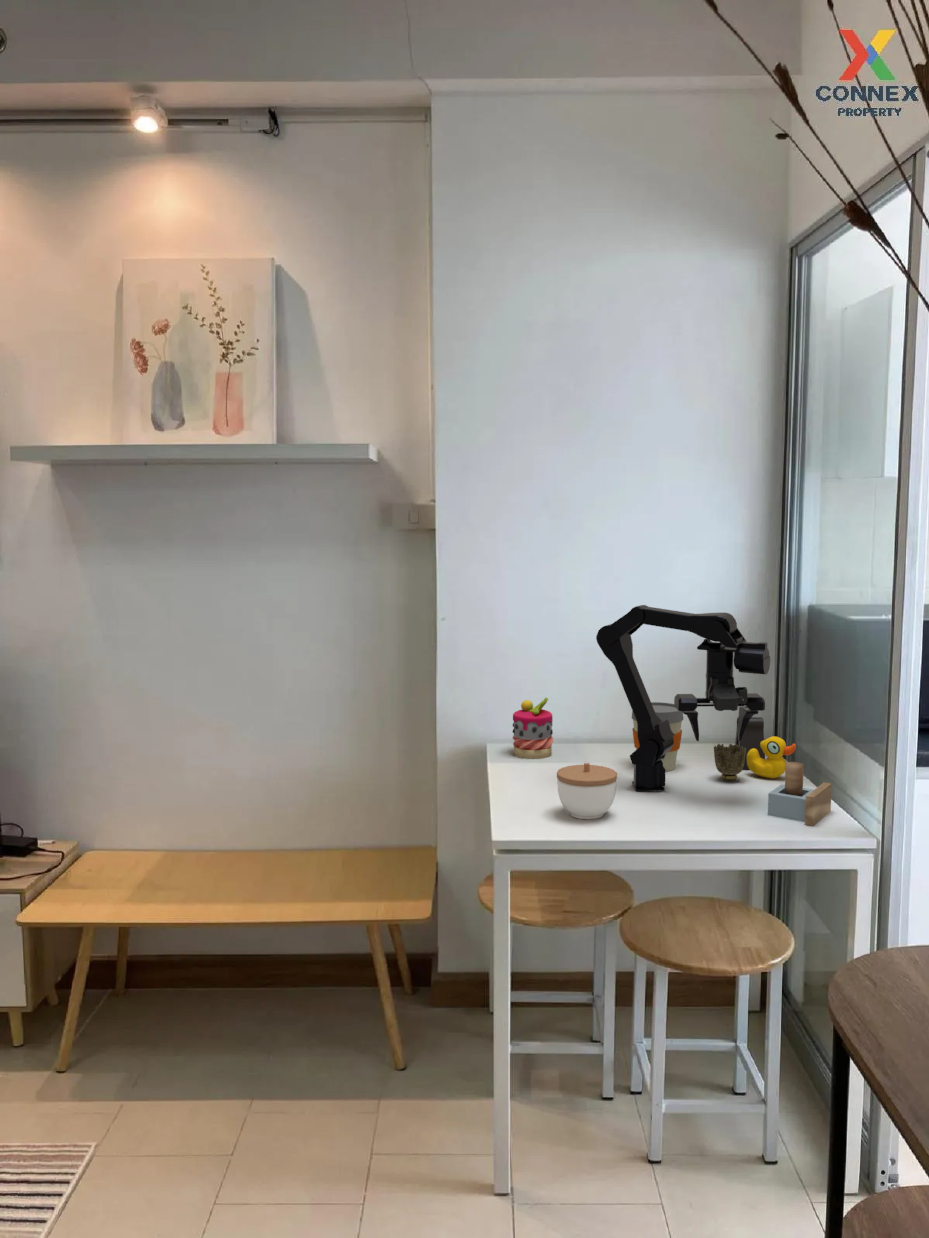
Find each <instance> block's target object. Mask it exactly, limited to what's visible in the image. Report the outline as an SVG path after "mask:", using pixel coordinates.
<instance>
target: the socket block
mask: <svg viewBox="0 0 929 1238" xmlns="http://www.w3.org/2000/svg"><path fill="white" fill-rule="evenodd" d="M813 790H815V788H814V789H812V788H806V787H803V796H802V797H800V796H794V795H788V794H785V784H783V783H781V784H780V785H778V786H777V787H776V788H774V789H772V790H771V791H769V792H768V793H767V795H768V796H767V798H768V799H767V801H768V802H767V816H771V817H776V818H780V819H781V818H782V819H788V820H792V821H797V822H798V821H799V822H804V823H805V805H806V796H807V795H808V794H809V793H811V792H812V791H813Z"/></svg>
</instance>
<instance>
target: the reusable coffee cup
mask: <svg viewBox="0 0 929 1238" xmlns="http://www.w3.org/2000/svg"><path fill="white" fill-rule="evenodd" d="M651 704H652V706H653V708H654V711H655V713H656V715H657V716H658V717H659V718H660V720H661V721H662V722H663V721H665V720H666V719H667V720H668V721H669V724H670V728H671V730H672V732H673V733H674V734H675V736H673V740H674V744H673V747H672V749H671V750H670V751H669V752H667V753H666V755H665V758H664V759H661V760H662V762H663V767H664V768H665V772H670V771H674V770H675V769H676V765H677V764H676V762H677V757H678V751H679V750H680V748H681V742H682V735H683V730H682V725H683V724H682V722H683V721H684V713H683V712H682V711H678V710H677V708H676V707H675V706H674V703H672V702H671V703H670V702H659V701H658V702H657V701H655V702H654V701H651ZM631 711H632V710H631ZM631 719H632V723H633V727H632V737H633V745H634V746H633V747H634V748H635V749H636V750H637V749H638V748H639V747H640V745H639V741H638V736H637V721H636V718H635V716H634V713H633V711H632V712H631Z"/></svg>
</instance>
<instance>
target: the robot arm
mask: <svg viewBox="0 0 929 1238" xmlns="http://www.w3.org/2000/svg"><path fill="white" fill-rule="evenodd" d="M643 625H647V626H653V627H654V626H655V627H660V628H665V629H672V630H678V631H685V632H689V633H691V634H694V635H696V636H699V637H700V638H703V641H702V642H701V643H700V644H699V645H698V646H697V647H696V649H697V650H699V651H706V666H705V667H706V670H705V671H706V672H705V693H704V696H705V697H696V696H695V695H694V694H693V693H676V695H675V696H674V699H673V701H674V702H673V704H674V706H675V707H676V708H677V710H678V711H682V712H683V715H686V716H687V718H688V721H689V723H690V727H691V729H692V732H693V734H694V738H695V741H697V742H699V741H700V740H699V739H700V730H699V728H700V727H699V712H698V711H697V708H698V707H714V709H715V711H718V712H723V711H731V712H736V711H738V716H737V718H738V732H737V733H738V740H739V741H741V739H742V736H743V734H744V731H745V729H746V726H747V724H748V722H749V720H750V718H751V717H753V716H754V715H758V714H759V713H760V712H759V711H765V710H766V701H765V698H763V696H761V695H760V694H759V693H757V692H756V693H749V692H748V688H747V687H746V686H737V687H736V686H735V677H734V668H735V669H736V670H737V671H738V672H739V673H742V674H744V673H745V674H753V675H754V674H755V675H756V674H757V675H768V674H769V671H770V667H771V666H770V665H771V656H770V651H769V648H768V642H766V641H761V642H752V641H751V642H748V641H747V640H746V638H745V637H744V635H743V634H742V633H741V631H740V630H739V628H738V624H737V621H736V618H735V617H734V616H733V615H732V614H731V613H729V612H705V613H693V612H685V611H679V610H674V609H673V610H672V609H666V608H658V607H652V606H648V605H646V604H641V605H636V606H634V607H632V608H631V609H630V610H629V611H627V613H626V614H624V615H622V616H621V617H620V618H618V619H617V620H616V621H614V622H613V623H610V624H607V625H604V626H602V627H600V629H599V630H598V631H597V633H596V636H595V637H596V638H595V639H596V642H597V645H598V646H599V648H600V650H601V652H602V653H603V655H604V656H605V657H606V658H607V659H608V660H609V662H611V664H612V665H613V667H614V669H615V671H616V675H617V676H618V679H619V680H620V683H621V685H622V688H623V691H624V693H625V695H626V698H627V700H628V703H629V706H630V707H631V708H630V709H631V711H633V713H634V716H635V718H636V721H637V736H638V741H639V745H640V747H639V748H638V749H637V750H634V751H633V752H632V753H631V754H630V755H629V758H630V761H631V764H632V765H633V781H631V784H632V786H633V788H634V791H635V792H665V786H666V771H665V768H664V767H663V762H662V760H661V759H664V758H665V755H666V753H667V752H669V751H670V750H671V749H672V747H673V744H674V740H673V736H675V734H674V733H673V732H672V730H671V728H670V724H669V721H668V720H667V719H666V720H665V721H663V722H662V721H661V720H660V718H659V717H658V716H657V715H656V713H655V711H654V708H653V706H652V704H651V702H652V701H651V698H650V696H649V694H648V692H647V689H646V686H645V684H644V681H643V679H642V677H641V674H640V672H639V669H638V667H637V664H636V662H635V659H634V656H633V655H634V653H633V652H634V649H633V648H634V646H633V645H634V644H633V639H632V635H633V634H634V633H636V632H637V631H638V630H639V629H640V628H641V627H642V626H643Z"/></svg>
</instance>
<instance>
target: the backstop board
mask: <svg viewBox="0 0 929 1238" xmlns="http://www.w3.org/2000/svg"><path fill="white" fill-rule="evenodd" d="M832 785H833V784H832V783H831V782H825V781H824V782H822V783H821V784H820V785H818V786H817V787H816V788H814V790H813V791H812V792H811V793H809V794H808V795H807V796H806V805H805V822H804V825H805V826H810V827H814V826H815V825H816V824H817V823H819V822H820V820H822V819H823V818H825V816H827V815H828V814H829V813H830V812H831V810H832Z"/></svg>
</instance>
